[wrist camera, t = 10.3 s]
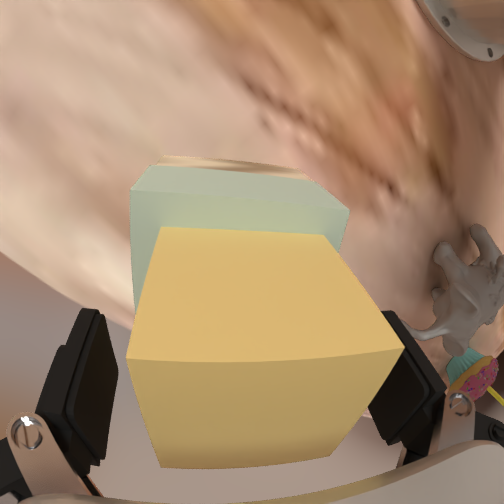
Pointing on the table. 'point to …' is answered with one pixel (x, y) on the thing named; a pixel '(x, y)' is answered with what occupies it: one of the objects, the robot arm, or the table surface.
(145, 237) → the pale green square block
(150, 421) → the block
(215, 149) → the table surface
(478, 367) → the cupcake
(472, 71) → the table surface
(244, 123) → the table surface
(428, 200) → the table surface
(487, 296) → the gray elephant figurine
